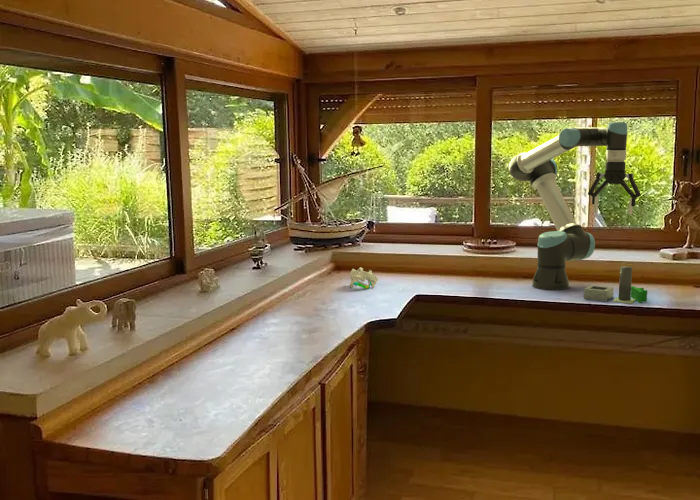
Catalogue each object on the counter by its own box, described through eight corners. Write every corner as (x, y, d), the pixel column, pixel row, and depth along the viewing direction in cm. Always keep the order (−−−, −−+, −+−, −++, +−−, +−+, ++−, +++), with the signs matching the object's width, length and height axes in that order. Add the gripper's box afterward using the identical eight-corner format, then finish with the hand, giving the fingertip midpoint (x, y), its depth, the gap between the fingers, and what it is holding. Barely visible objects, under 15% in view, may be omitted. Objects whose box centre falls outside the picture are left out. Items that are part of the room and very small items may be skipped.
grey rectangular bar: (617, 299, 275) (618, 267, 273) (619, 297, 278) (621, 265, 277) (628, 301, 272) (630, 268, 270) (631, 299, 276) (633, 266, 274)
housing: (583, 298, 280) (584, 288, 280) (590, 294, 288) (590, 285, 287) (607, 301, 275) (607, 291, 275) (612, 297, 283) (613, 287, 282)
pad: (612, 301, 275) (612, 300, 274) (617, 298, 280) (617, 296, 280) (631, 303, 271) (631, 302, 271) (635, 300, 276) (635, 298, 276)
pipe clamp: (649, 303, 272) (649, 292, 271) (639, 303, 272) (639, 292, 271) (640, 297, 283) (641, 286, 282) (630, 297, 283) (631, 285, 282)
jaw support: (339, 282, 301) (347, 264, 306) (346, 294, 307) (353, 277, 312) (365, 285, 296) (372, 267, 301) (371, 297, 302) (378, 279, 307)
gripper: (581, 160, 288) (579, 212, 292) (646, 161, 274) (643, 216, 278) (587, 160, 295) (584, 211, 298) (650, 161, 280) (647, 214, 284)
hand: (612, 213), depth 288 cm, fingers open, 13 cm apart
